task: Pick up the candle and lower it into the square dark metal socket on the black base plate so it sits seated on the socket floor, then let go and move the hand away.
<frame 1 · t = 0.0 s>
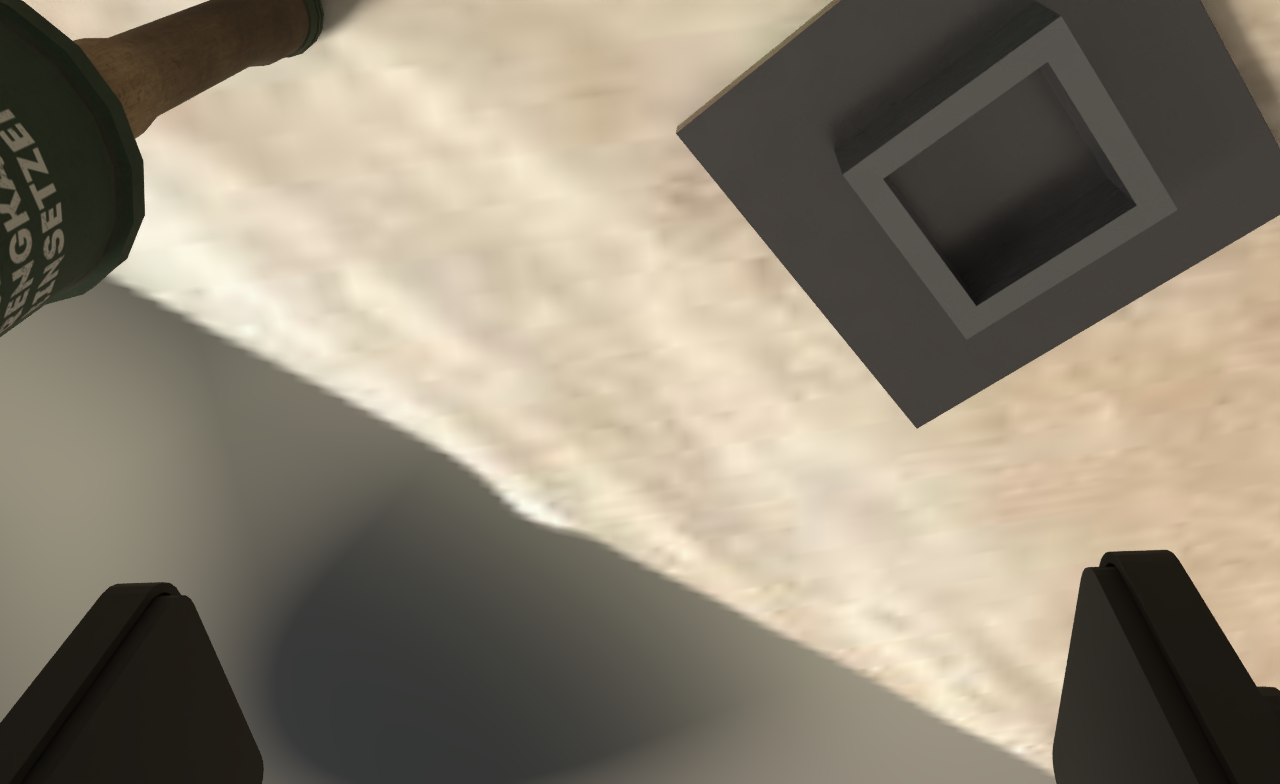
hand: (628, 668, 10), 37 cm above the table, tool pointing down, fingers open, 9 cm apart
socket holder: (984, 159, 44), on the table
grenade: (290, 6, 43), on the table
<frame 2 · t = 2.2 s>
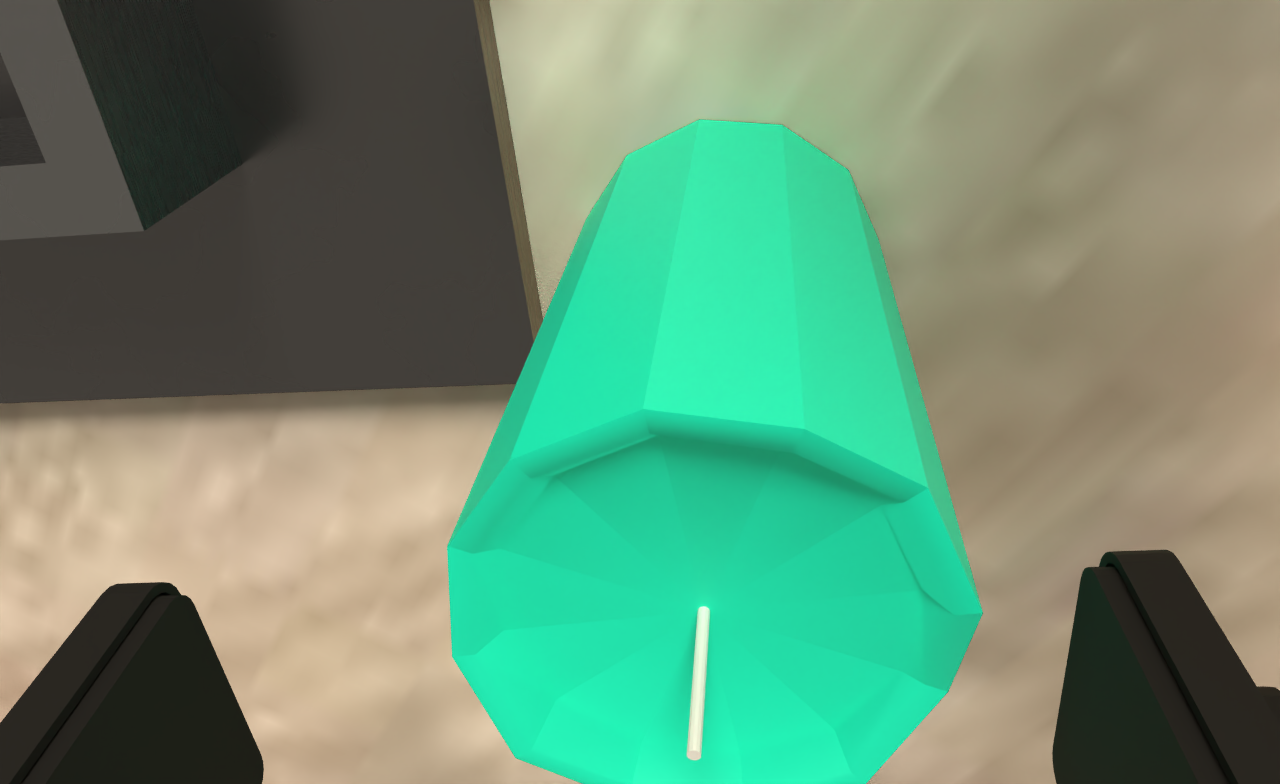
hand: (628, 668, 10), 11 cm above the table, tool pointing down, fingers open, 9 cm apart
candle: (728, 261, 20), on the table
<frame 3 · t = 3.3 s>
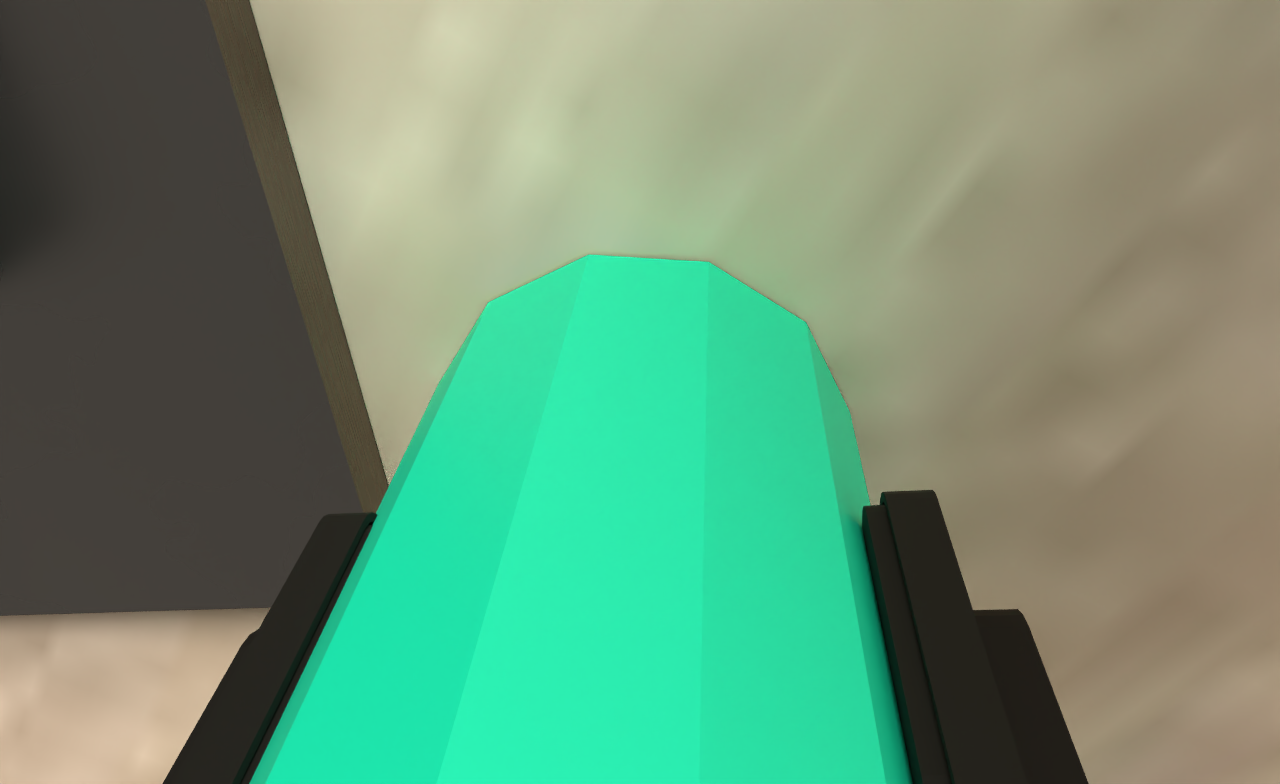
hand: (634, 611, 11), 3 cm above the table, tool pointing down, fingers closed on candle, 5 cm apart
candle: (641, 436, 14), on the table, touching gripper
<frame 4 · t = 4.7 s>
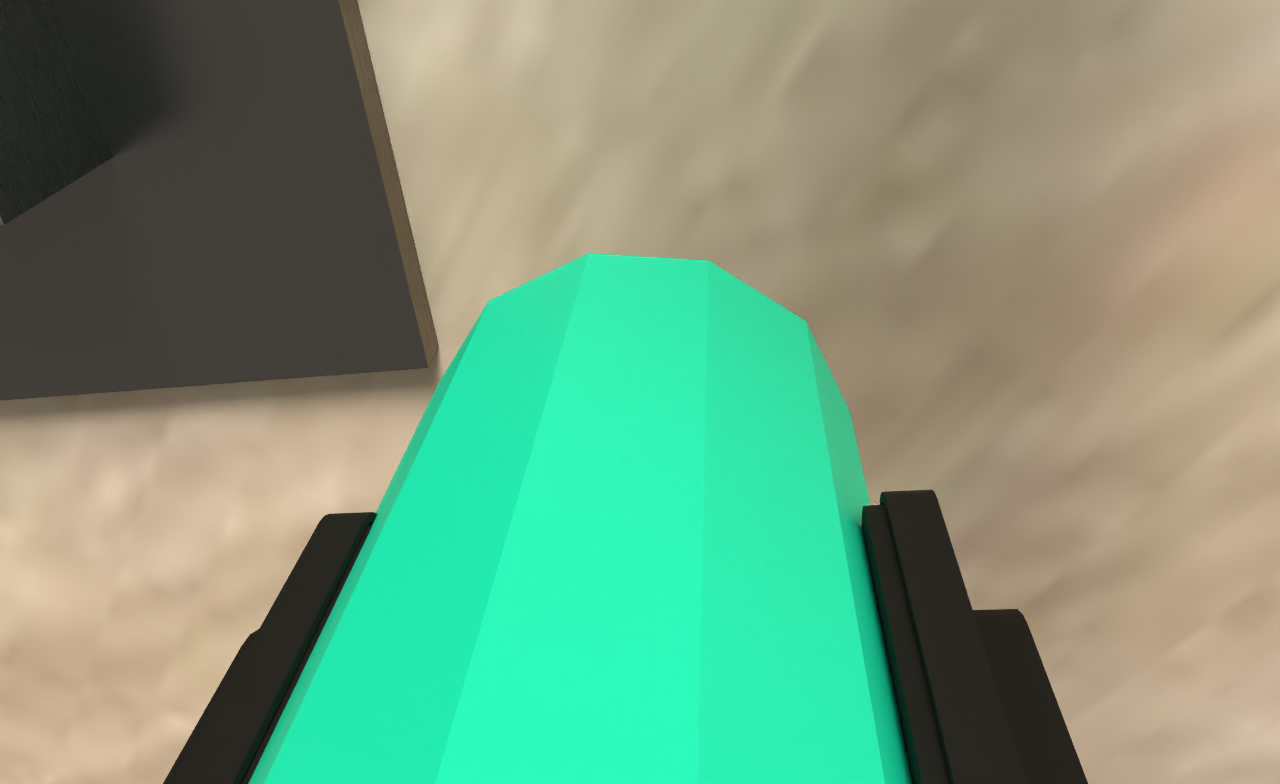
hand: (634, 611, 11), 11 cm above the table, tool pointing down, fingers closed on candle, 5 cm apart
candle: (641, 434, 14), point 7 cm above the table, touching gripper
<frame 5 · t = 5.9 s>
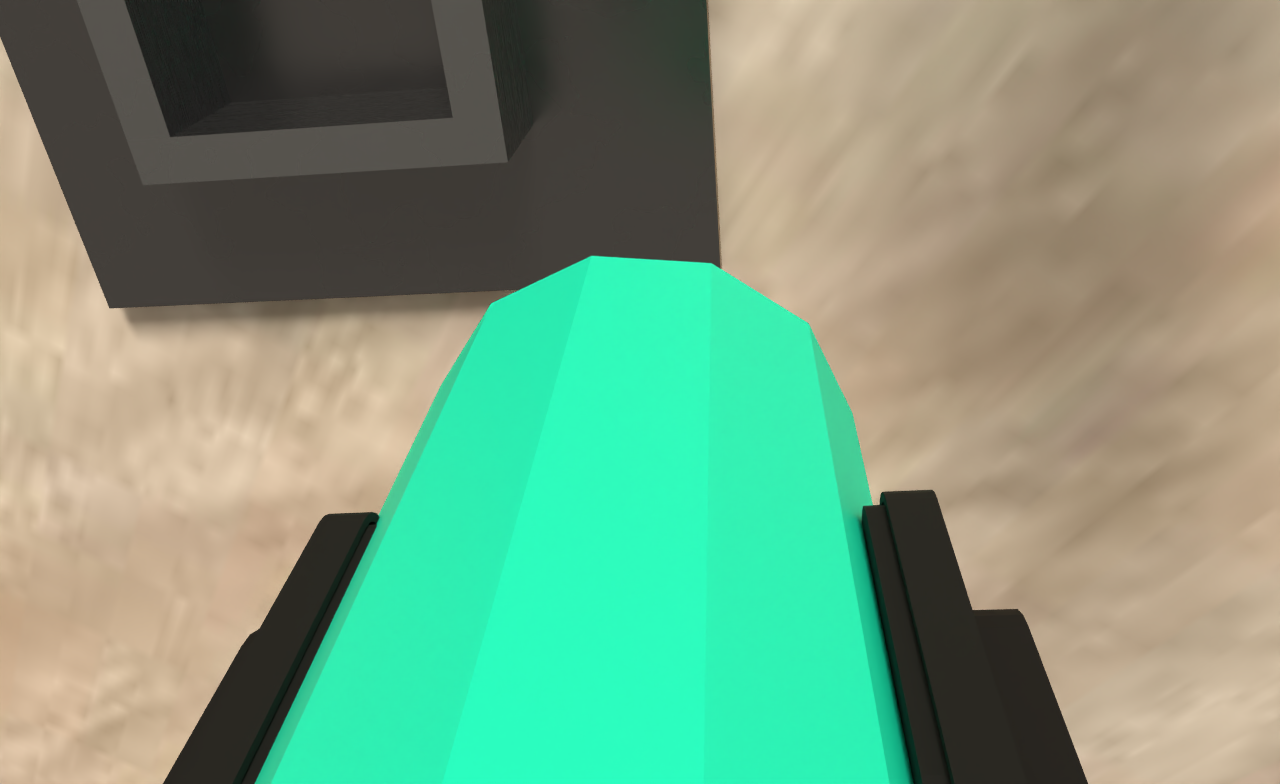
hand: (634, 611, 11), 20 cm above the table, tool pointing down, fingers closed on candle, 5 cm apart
candle: (643, 437, 14), point 16 cm above the table, touching gripper
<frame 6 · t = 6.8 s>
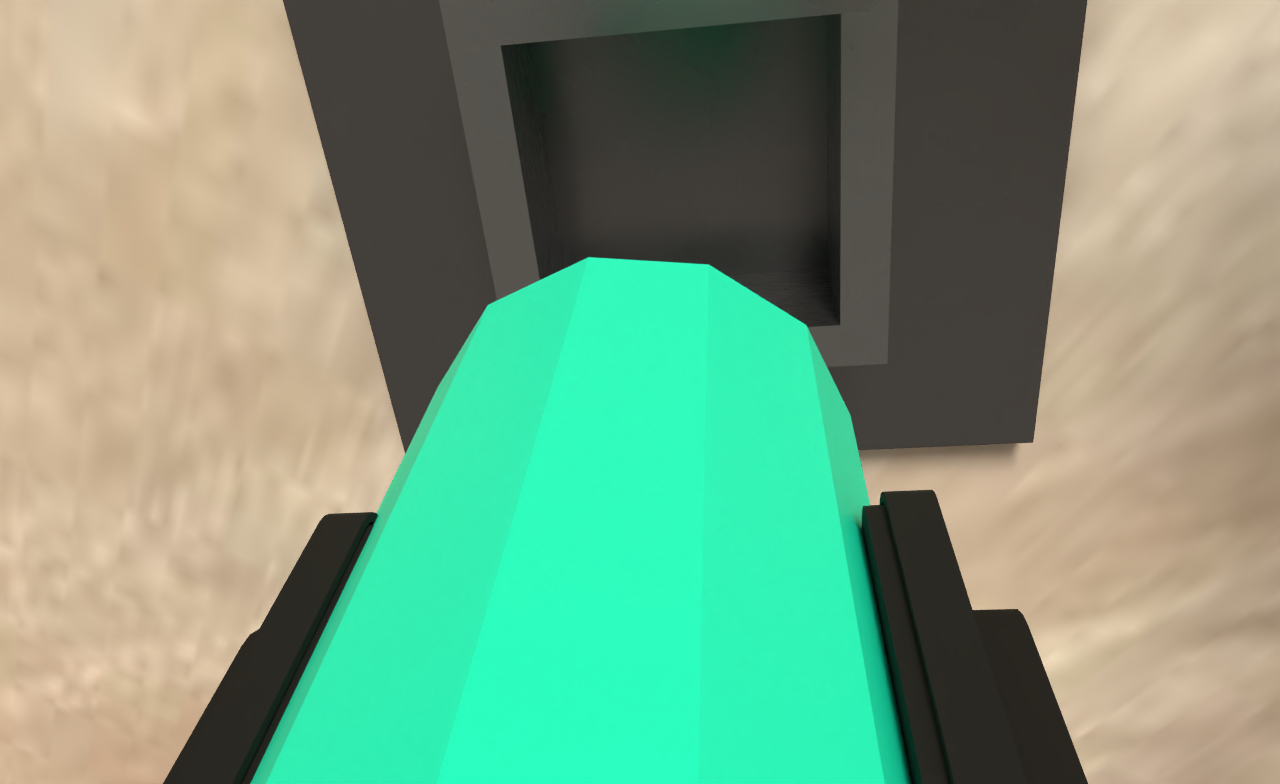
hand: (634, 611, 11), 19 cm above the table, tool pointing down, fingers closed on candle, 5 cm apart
socket holder: (686, 139, 27), on the table
candle: (641, 439, 14), point 15 cm above the table, touching gripper
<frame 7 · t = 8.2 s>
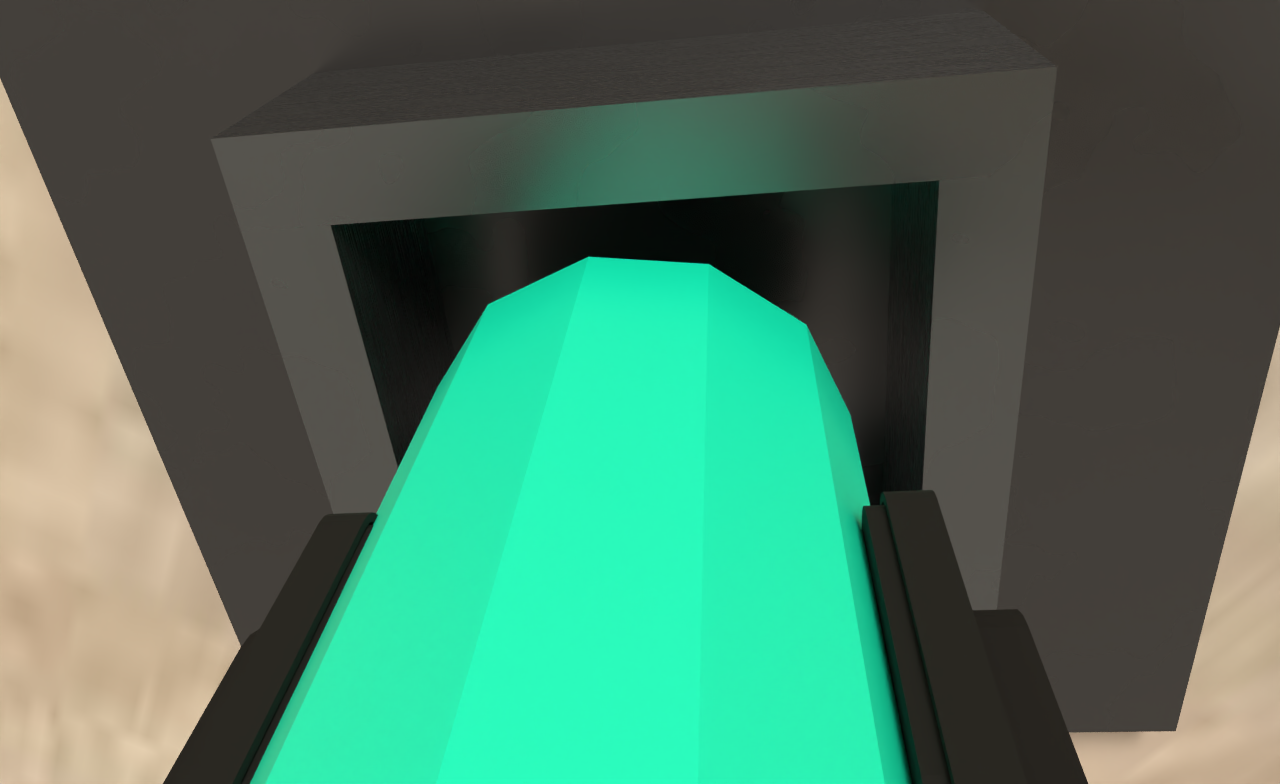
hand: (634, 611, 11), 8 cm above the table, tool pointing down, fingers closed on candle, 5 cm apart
socket holder: (668, 315, 18), on the table
candle: (641, 438, 14), point 4 cm above the table, touching gripper
when the fingers open (6 cm above the table, at t = 8.9 s): candle drops 1 cm, resting on socket holder.
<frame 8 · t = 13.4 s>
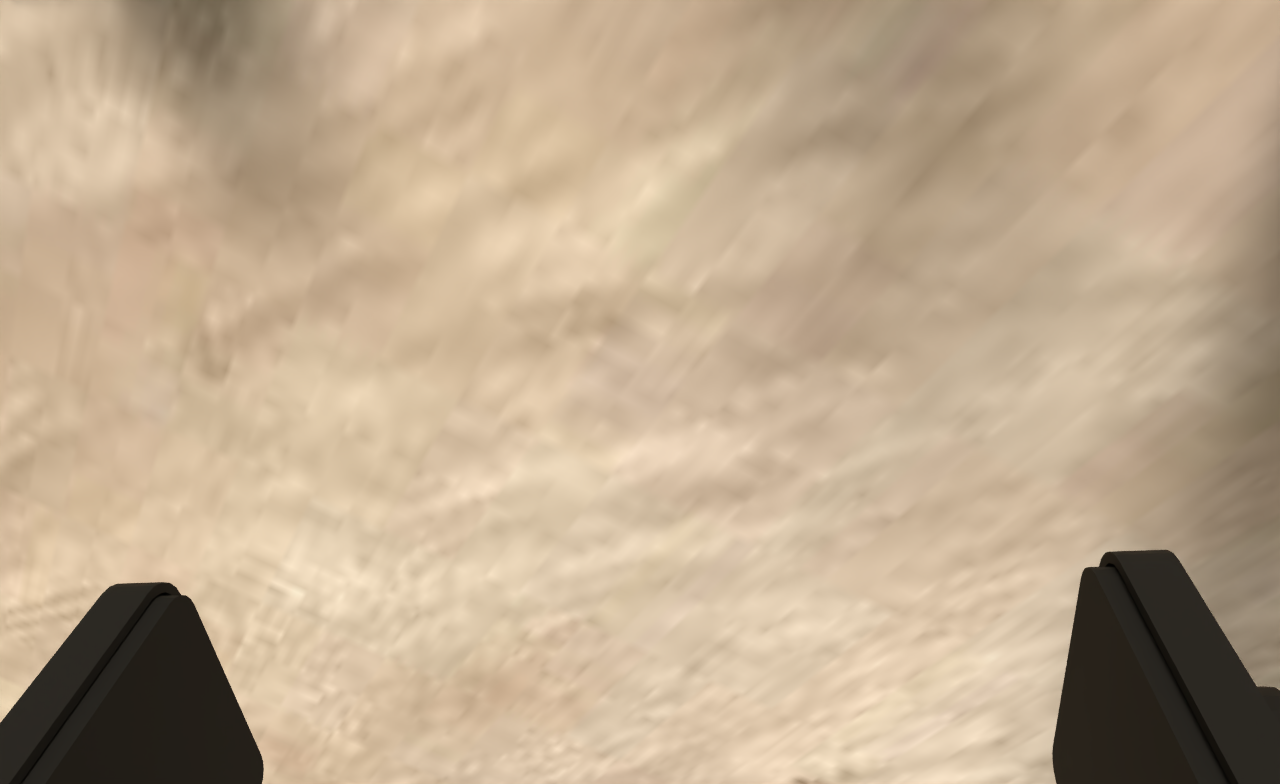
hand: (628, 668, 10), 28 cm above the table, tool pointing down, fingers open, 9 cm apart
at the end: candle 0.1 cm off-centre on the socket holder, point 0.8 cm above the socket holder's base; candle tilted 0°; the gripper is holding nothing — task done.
